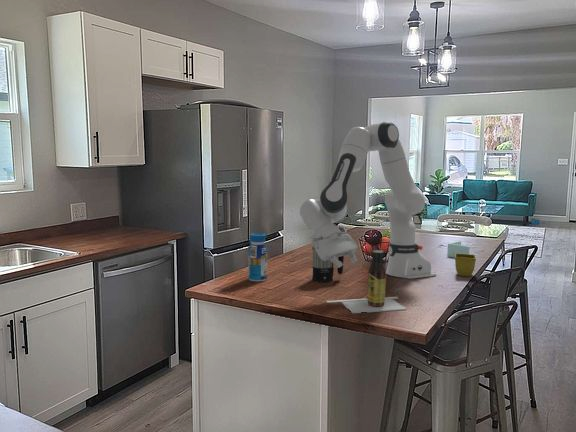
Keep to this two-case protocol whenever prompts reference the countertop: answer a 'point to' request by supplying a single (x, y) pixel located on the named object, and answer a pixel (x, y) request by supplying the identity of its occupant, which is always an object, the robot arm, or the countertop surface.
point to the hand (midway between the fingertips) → (348, 264)
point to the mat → (365, 307)
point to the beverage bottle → (257, 258)
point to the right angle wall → (457, 249)
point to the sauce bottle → (376, 280)
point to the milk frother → (324, 268)
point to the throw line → (357, 300)
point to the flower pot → (465, 264)
